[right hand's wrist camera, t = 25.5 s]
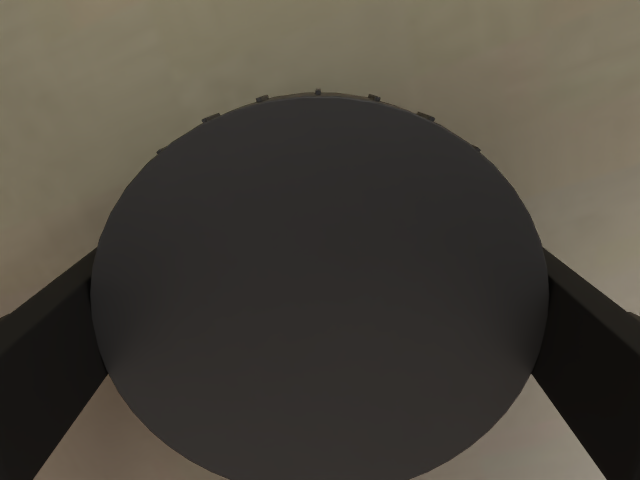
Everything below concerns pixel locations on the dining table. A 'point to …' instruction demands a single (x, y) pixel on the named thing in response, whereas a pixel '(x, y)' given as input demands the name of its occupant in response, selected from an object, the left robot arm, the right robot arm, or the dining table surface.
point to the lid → (319, 292)
